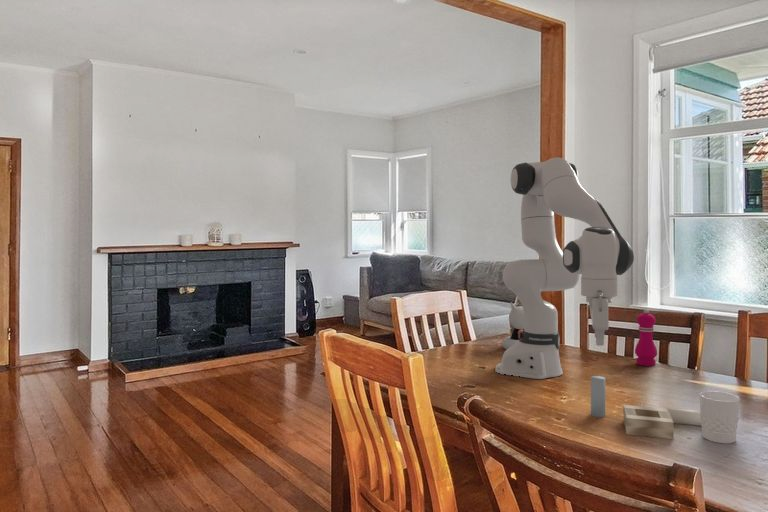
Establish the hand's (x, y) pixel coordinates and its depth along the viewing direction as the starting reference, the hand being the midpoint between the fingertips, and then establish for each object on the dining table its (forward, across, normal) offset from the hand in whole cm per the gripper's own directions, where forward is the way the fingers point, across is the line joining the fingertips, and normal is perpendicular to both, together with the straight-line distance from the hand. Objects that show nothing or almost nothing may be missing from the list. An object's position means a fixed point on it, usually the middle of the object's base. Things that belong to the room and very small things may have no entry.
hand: (599, 341), depth 140 cm
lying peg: (+17, +2, -21) cm, 27 cm away
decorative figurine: (+19, +72, +27) cm, 79 cm away
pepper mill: (+19, +61, -18) cm, 67 cm away
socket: (+20, -7, -11) cm, 24 cm away
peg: (+20, 0, 0) cm, 20 cm away
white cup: (+20, -8, -26) cm, 34 cm away
